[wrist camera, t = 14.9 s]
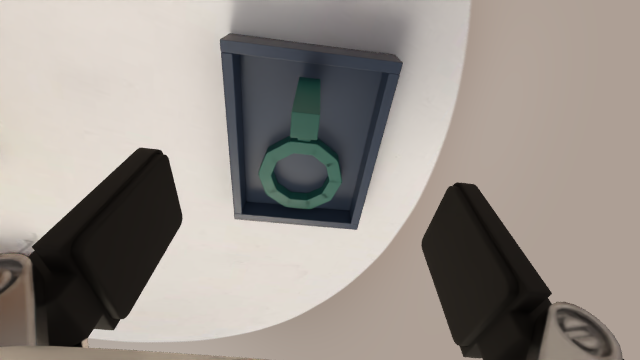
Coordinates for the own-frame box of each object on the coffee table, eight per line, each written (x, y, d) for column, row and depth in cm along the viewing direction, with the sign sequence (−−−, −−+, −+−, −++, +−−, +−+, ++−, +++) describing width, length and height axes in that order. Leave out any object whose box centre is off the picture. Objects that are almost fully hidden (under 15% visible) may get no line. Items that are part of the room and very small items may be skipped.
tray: (229, 33, 21) (219, 39, 19) (395, 54, 22) (403, 62, 19) (240, 203, 30) (234, 219, 28) (354, 213, 31) (356, 229, 29)
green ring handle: (335, 204, 30) (339, 267, 23) (260, 197, 29) (243, 260, 23) (360, 79, 22) (376, 121, 16) (259, 67, 22) (233, 105, 15)
